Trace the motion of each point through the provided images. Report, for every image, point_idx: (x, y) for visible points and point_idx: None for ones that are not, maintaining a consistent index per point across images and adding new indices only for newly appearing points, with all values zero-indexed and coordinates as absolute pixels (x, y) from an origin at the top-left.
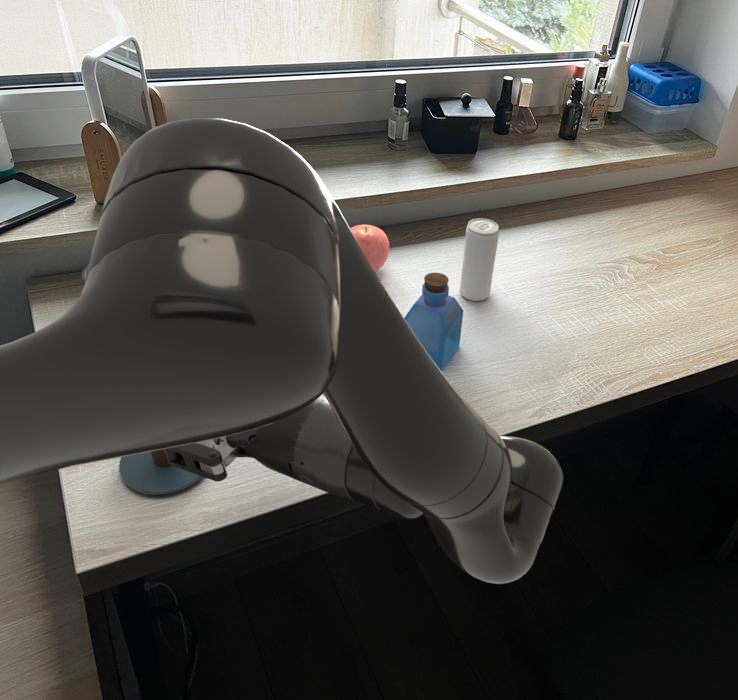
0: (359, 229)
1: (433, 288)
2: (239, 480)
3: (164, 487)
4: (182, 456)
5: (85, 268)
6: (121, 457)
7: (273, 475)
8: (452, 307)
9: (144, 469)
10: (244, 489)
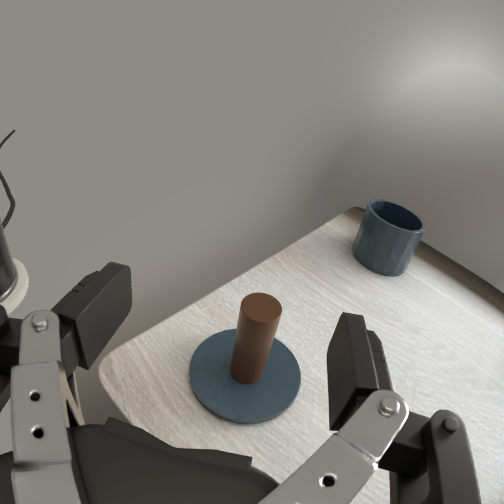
0: None
1: None
2: (260, 464)
3: (202, 390)
4: (4, 375)
5: (378, 199)
6: (226, 330)
7: None
8: None
9: (219, 358)
10: None
